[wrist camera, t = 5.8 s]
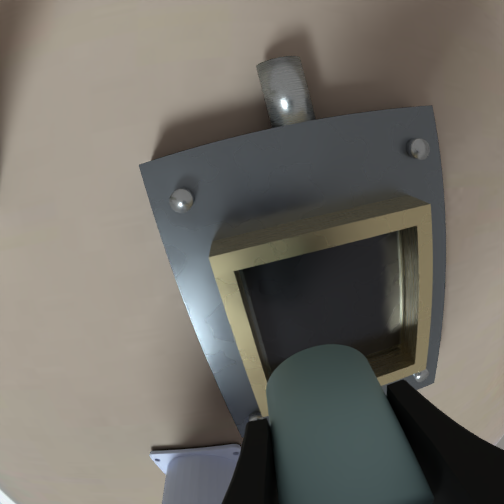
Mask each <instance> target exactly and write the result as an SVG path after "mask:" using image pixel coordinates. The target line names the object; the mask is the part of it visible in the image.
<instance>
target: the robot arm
mask: <svg viewBox="0 0 504 504" xmlns="http://www.w3.org/2000/svg"><path fill="white" fill-rule="evenodd" d="M386 397H387V399H388V401H389V403H390V405H391V407H392V409H393V411H394V413H395V415H396V417H397V419H398V421H399V423H400V425H401V427H402V429H403V431H404V433H405V435H406V437H407V439H408V442H409V444H410V446H411V448H412V450H413V452H414V454H415V456H416V458H417V461H418V463H419V465H420V467H421V469H422V471H423V474H424V476H425V478H426V480H427V482H428V485H429V487H430V489H431V491H432V494H433V496H434V501H433V503H432V504H504V450H503V449H500V448H498V447H496V446H494V445H492V444H490V443H488V442H487V441H485V440H483V439H481V438H479V437H478V436H476V435H474V434H473V433H471V432H470V431H468V430H467V429H465V428H464V427H462V426H461V425H459V424H458V423H456V422H455V421H454V420H452V419H451V418H450V417H448V416H447V415H446V414H444V413H443V412H442V411H440V410H439V409H438V408H437V407H435V406H434V405H433V404H432V403H431V402H429V401H428V400H427V399H426V398H425V397H424V396H422V395H421V394H420V393H419V392H418V391H417V390H416V389H415V388H413V387H412V386H411V385H410V384H409V383H408V382H407V381H406V380H404V379H403V380H400V381H397V382H394V383H392V384H389V385H387V395H386ZM149 456H150V457H151V459H152V460H153V461H154V462H155V463H156V464H157V466H158V467H159V468H160V469H161V470H162V471H163V472H164V473H165V475H166V479H165V486H164V493H163V500H162V504H279V499H278V491H277V482H276V474H275V465H274V456H273V446H272V438H271V429H270V425H269V422H268V420H267V418H265V419H259V420H254V421H249V422H248V423H247V424H246V428H245V434H244V439H243V443H242V447H241V446H240V445H238V444H229V445H221V446H213V447H203V448H192V449H180V450H162V451H151V452H150V455H149Z"/></svg>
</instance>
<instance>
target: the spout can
mask: <svg viewBox="0 0 504 504" xmlns="http://www.w3.org/2000/svg"><path fill="white" fill-rule="evenodd" d="M266 397H267V405H268V414H269V423H270V429H271V438H272V446H273V456H274V465H275V474H276V482H277V491H278V499H279V504H432V503H433V501H434V496H433V494H432V491H431V489H430V487H429V485H428V482H427V480H426V478H425V476H424V474H423V471H422V469H421V467H420V465H419V463H418V461H417V458H416V456H415V454H414V452H413V450H412V448H411V446H410V444H409V442H408V439H407V437H406V435H405V433H404V431H403V429H402V427H401V425H400V423H399V421H398V419H397V417H396V415H395V413H394V411H393V409H392V407H391V405H390V403H389V401H388V399H387V397H386V395H385V393H384V391H383V389H382V387H381V385H380V383H379V381H378V379H377V377H376V376H375V374H374V372H373V370H372V368H371V366H370V364H369V362H368V360H367V359H366V357H365V356H364V355H363V354H362V353H361V352H359V351H358V350H356V349H354V348H352V347H349V346H345V345H338V344H326V345H319V346H314V347H311V348H308V349H305V350H302V351H300V352H298V353H296V354H294V355H292V356H290V357H289V358H287V359H286V360H285V361H283V362H282V363H281V364H280V365H279V366H278V367H277V368H276V369H275V370H274V372H273V373H272V374H271V376H270V378H269V380H268V383H267V387H266Z"/></svg>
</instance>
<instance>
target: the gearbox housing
mask: <svg viewBox="0 0 504 504" xmlns="http://www.w3.org/2000/svg"><path fill="white" fill-rule="evenodd" d="M256 68H257V72H258V75H259V79H260V83H261V87H262V91H263V95H264V98H265V102H266V106H267V110H268V114H269V118H270V122H271V126H272V128H271V129H267V130H262V131H258V132H253V133H249V134H245V135H241V136H237V137H233V138H229V139H225V140H221V141H217V142H213V143H209V144H206V145H202V146H199V147H195V148H192V149H188V150H185V151H181V152H178V153H175V154H171V155H168V156H165V157H162V158H158V159H155V160H152V161H149V162H146V163H143V164H140V165H139V167H140V171H141V174H142V178H143V181H144V185H145V188H146V191H147V195H148V198H149V201H150V204H151V208H152V211H153V214H154V217H155V220H156V223H157V226H158V229H159V232H160V236H161V239H162V242H163V244H164V247H165V250H166V253H167V256H168V259H169V262H170V265H171V268H172V270H173V273H174V276H175V279H176V282H177V284H178V287H179V290H180V293H181V295H182V298H183V301H184V303H185V306H186V309H187V311H188V314H189V316H190V319H191V321H192V324H193V327H194V329H195V332H196V334H197V337H198V339H199V342H200V344H201V347H202V349H203V351H204V354H205V356H206V359H207V361H208V363H209V366H210V368H211V370H212V373H213V375H214V377H215V380H216V382H217V384H218V387H219V389H220V391H221V393H222V396H223V398H224V400H225V402H226V404H227V407H228V409H229V411H230V413H231V415H232V418H233V420H234V422H235V424H236V426H237V428H238V430H239V432H240V434H241V437H244V434H245V428H246V424H247V423H248V422H249V421H254V420H259V419H265V418H267V420H268V422H269V414H268V405H267V397H266V387H267V383H268V380H269V378H270V376H271V374H272V373H273V372H274V370H275V369H276V368H277V367H278V366H279V365H280V364H281V363H282V362H283V361H285V360H286V359H287V358H289V357H290V356H292V355H294V354H296V353H298V352H300V351H302V350H305V349H308V348H311V347H314V346H319V345H326V344H338V345H345V346H349V347H352V348H354V349H356V350H358V351H359V352H361V353H362V354H363V355H364V356H365V357H366V359H367V360H368V362H369V364H370V366H371V368H372V370H373V372H374V374H375V376H376V377H377V379H378V381H379V383H380V385H381V387H382V389H383V391H384V393H385V395H387V385H389V384H392V383H394V382H397V381H400V380H403V379H404V380H406V381H407V382H408V383H409V384H410V385H411V386H412V387H413V388H415V389H416V390H418V389H420V388H423V387H425V386H428V385H430V384H432V383H434V380H435V374H436V368H437V361H438V355H439V347H440V339H441V330H442V320H443V309H444V294H445V272H446V226H445V204H444V189H443V178H442V168H441V159H440V151H439V143H438V137H437V130H436V124H435V118H434V113H433V107H432V105H431V106H418V107H406V108H396V109H387V110H378V111H370V112H362V113H355V114H348V115H342V116H335V117H329V118H323V119H317V120H316V119H315V115H314V111H313V107H312V103H311V98H310V94H309V90H308V87H307V83H306V79H305V75H304V71H303V68H302V64H301V60H300V57H298V56H286V57H279V58H274V59H270V60H267V61H264V62H262V63H260V64H258V65H257V66H256ZM269 425H270V423H269Z"/></svg>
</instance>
